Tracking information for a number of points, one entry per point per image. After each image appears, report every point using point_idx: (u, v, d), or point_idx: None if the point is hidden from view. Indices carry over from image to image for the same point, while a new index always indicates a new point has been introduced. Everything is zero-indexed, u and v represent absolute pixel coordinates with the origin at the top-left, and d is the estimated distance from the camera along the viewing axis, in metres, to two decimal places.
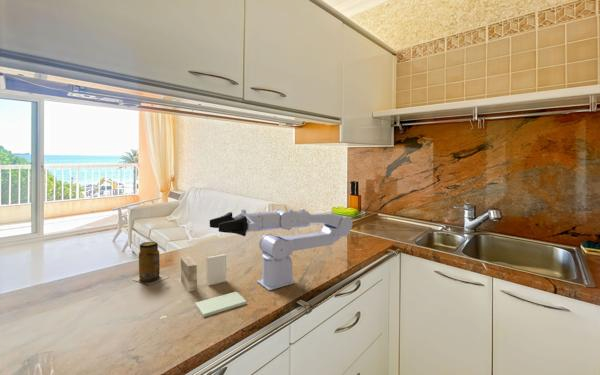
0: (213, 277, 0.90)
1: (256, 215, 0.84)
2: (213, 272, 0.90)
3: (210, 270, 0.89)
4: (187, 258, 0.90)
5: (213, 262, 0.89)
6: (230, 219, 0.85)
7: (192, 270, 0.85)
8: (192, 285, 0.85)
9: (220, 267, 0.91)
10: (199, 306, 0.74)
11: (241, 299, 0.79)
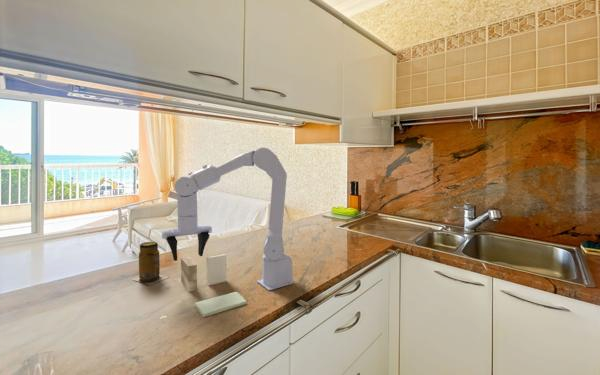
0: (213, 277, 0.90)
1: None
2: (213, 272, 0.90)
3: (210, 270, 0.89)
4: (187, 258, 0.90)
5: (213, 262, 0.89)
6: (199, 236, 0.90)
7: (192, 270, 0.85)
8: (192, 285, 0.85)
9: (220, 267, 0.91)
10: (199, 306, 0.74)
11: (241, 299, 0.79)
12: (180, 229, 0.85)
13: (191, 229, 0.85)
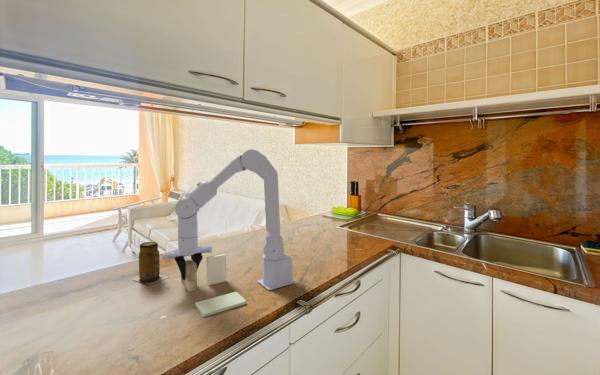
0: (213, 277, 0.90)
1: None
2: (213, 272, 0.90)
3: (210, 270, 0.89)
4: (187, 258, 0.90)
5: (213, 262, 0.89)
6: (192, 257, 0.89)
7: (192, 270, 0.85)
8: (192, 285, 0.85)
9: (220, 267, 0.91)
10: (199, 306, 0.74)
11: (241, 299, 0.79)
12: (180, 250, 0.85)
13: (191, 250, 0.86)
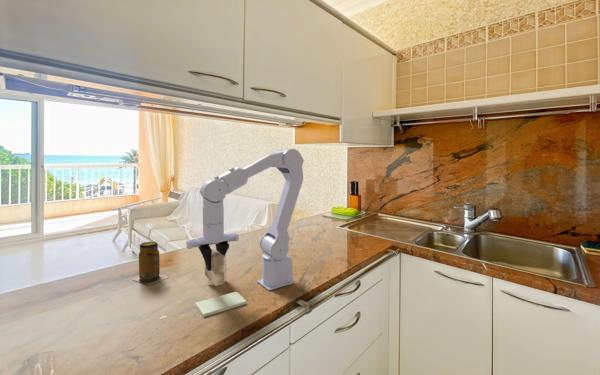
0: None
1: None
2: None
3: None
4: (212, 249, 0.83)
5: None
6: (217, 246, 0.82)
7: (219, 262, 0.77)
8: (219, 278, 0.77)
9: None
10: (199, 306, 0.74)
11: (241, 299, 0.79)
12: (205, 238, 0.77)
13: (218, 238, 0.78)
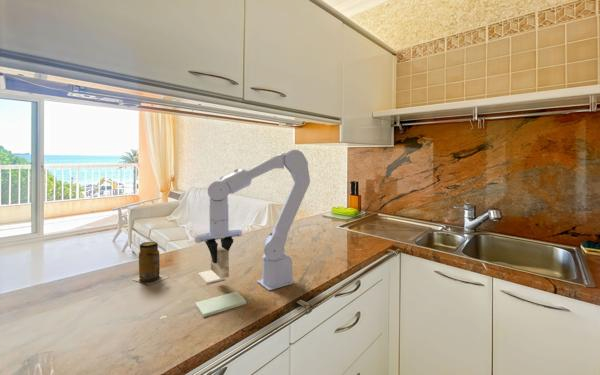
0: (209, 278, 0.93)
1: None
2: (208, 276, 0.94)
3: (204, 276, 0.94)
4: (217, 246, 0.90)
5: (205, 273, 0.97)
6: (222, 241, 0.89)
7: (224, 257, 0.84)
8: (224, 272, 0.85)
9: (213, 273, 0.96)
10: (199, 306, 0.74)
11: (241, 299, 0.79)
12: (212, 233, 0.85)
13: (223, 233, 0.85)
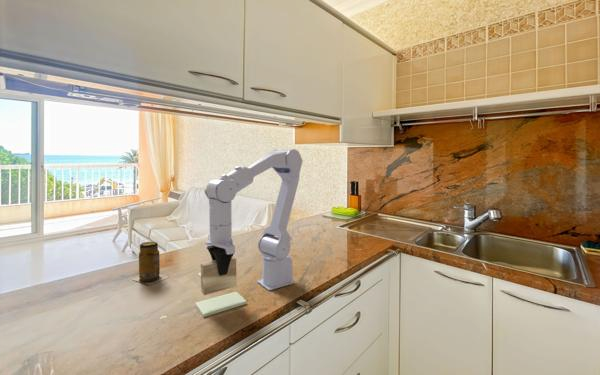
0: None
1: (214, 231, 0.73)
2: None
3: None
4: (208, 262, 0.74)
5: None
6: (216, 249, 0.76)
7: None
8: None
9: None
10: (199, 306, 0.74)
11: (241, 299, 0.79)
12: (228, 240, 0.74)
13: None
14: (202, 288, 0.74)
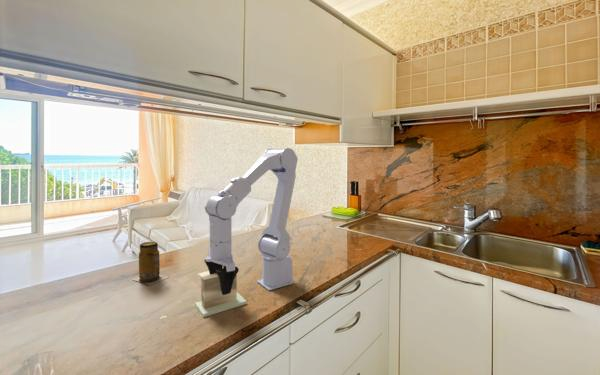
0: None
1: (214, 248, 0.73)
2: None
3: None
4: (209, 276, 0.75)
5: (204, 273, 0.96)
6: (213, 263, 0.79)
7: None
8: None
9: None
10: (199, 306, 0.74)
11: (241, 299, 0.79)
12: (228, 256, 0.75)
13: None
14: (202, 302, 0.74)
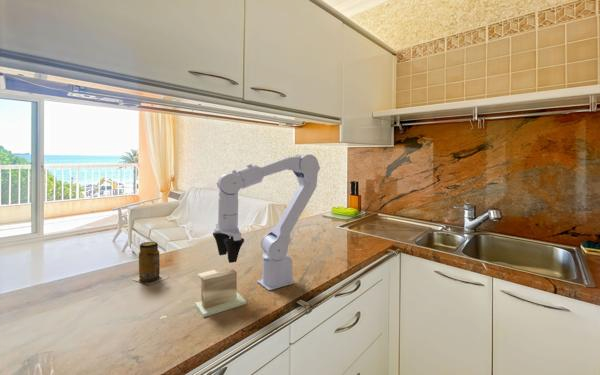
0: None
1: (223, 220, 0.80)
2: None
3: None
4: (209, 276, 0.75)
5: (204, 274, 0.96)
6: (220, 235, 0.86)
7: None
8: None
9: None
10: (199, 306, 0.74)
11: (241, 299, 0.79)
12: (235, 228, 0.82)
13: None
14: (202, 302, 0.74)
